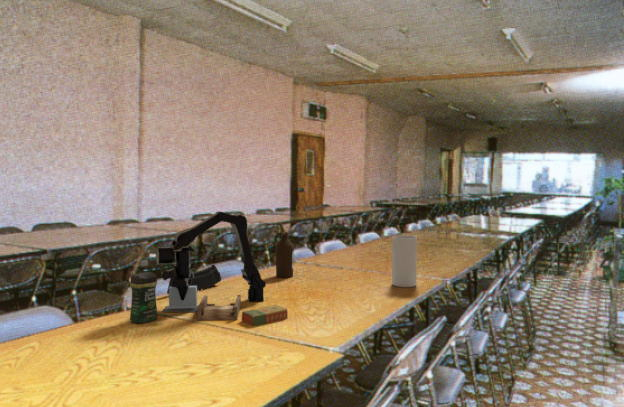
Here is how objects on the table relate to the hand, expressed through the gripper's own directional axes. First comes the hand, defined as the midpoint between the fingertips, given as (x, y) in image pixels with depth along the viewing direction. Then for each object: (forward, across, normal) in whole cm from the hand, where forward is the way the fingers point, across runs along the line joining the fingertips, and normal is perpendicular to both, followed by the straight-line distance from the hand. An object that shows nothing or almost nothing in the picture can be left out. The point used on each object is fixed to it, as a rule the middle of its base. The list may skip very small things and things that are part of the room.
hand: (183, 299), depth 197 cm
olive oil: (+5, -64, +44) cm, 77 cm away
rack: (+4, +6, +16) cm, 18 cm away
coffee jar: (+4, +15, -12) cm, 19 cm away
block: (+3, 0, 0) cm, 3 cm away
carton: (+5, +16, +34) cm, 38 cm away
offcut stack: (+4, +11, +16) cm, 20 cm away
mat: (+4, 0, 0) cm, 4 cm away
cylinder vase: (+5, -38, +105) cm, 112 cm away
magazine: (+5, -33, 0) cm, 34 cm away
